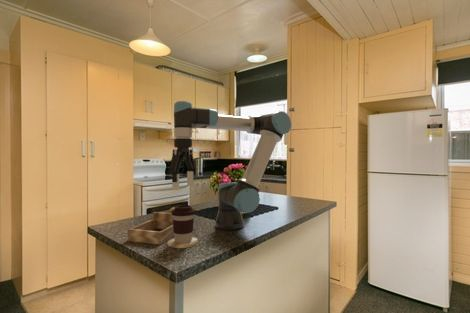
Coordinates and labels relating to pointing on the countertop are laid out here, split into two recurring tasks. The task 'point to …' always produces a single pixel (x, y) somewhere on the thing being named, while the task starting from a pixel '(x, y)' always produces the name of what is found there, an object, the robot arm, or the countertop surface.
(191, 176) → the robot arm
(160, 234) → the open wooden box
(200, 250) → the countertop surface
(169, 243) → the disc
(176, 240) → the coffee cup
